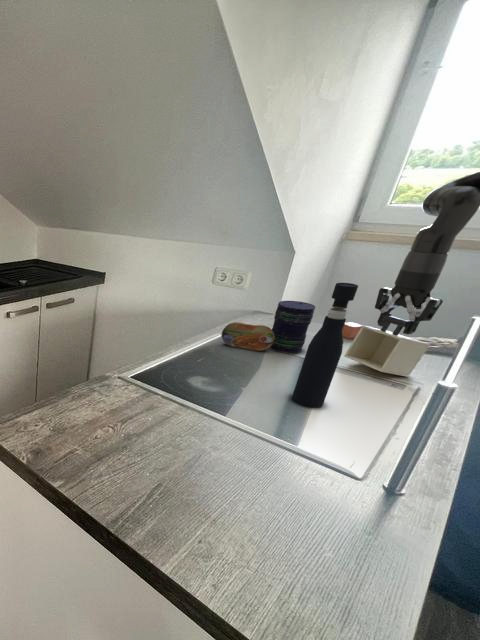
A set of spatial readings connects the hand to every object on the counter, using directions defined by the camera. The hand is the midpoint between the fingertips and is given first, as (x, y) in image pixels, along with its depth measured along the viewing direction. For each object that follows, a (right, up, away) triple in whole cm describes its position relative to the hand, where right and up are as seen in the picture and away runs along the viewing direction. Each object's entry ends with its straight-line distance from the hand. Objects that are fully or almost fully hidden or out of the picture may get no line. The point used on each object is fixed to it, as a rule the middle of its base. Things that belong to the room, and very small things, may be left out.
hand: (394, 329), depth 108 cm
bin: (+5, -5, +3) cm, 8 cm away
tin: (-27, -4, +23) cm, 36 cm away
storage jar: (-15, -5, +22) cm, 27 cm away
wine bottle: (-32, -19, -10) cm, 39 cm away
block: (+14, 0, +30) cm, 33 cm away
